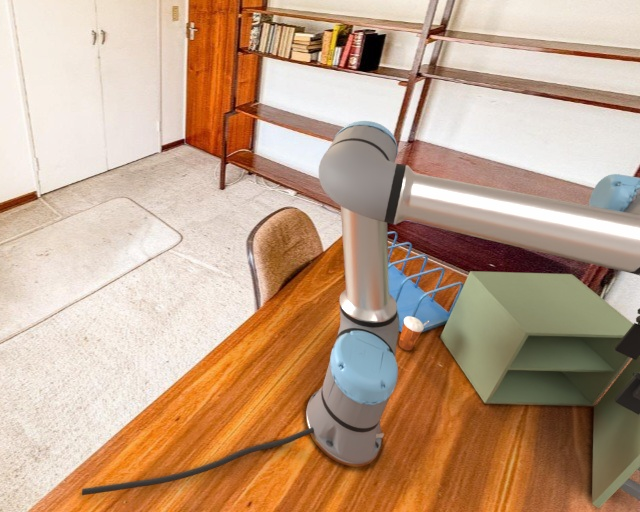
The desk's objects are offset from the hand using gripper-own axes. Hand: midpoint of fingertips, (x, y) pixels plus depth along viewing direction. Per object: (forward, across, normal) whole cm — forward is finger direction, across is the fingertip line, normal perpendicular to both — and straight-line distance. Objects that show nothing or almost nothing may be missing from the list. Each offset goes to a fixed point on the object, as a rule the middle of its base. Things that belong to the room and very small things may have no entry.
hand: (625, 378), depth 66 cm
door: (+29, +12, -10) cm, 33 cm away
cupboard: (+29, +23, +9) cm, 38 cm away
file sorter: (+30, +26, +38) cm, 55 cm away
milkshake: (+30, +10, +30) cm, 44 cm away
